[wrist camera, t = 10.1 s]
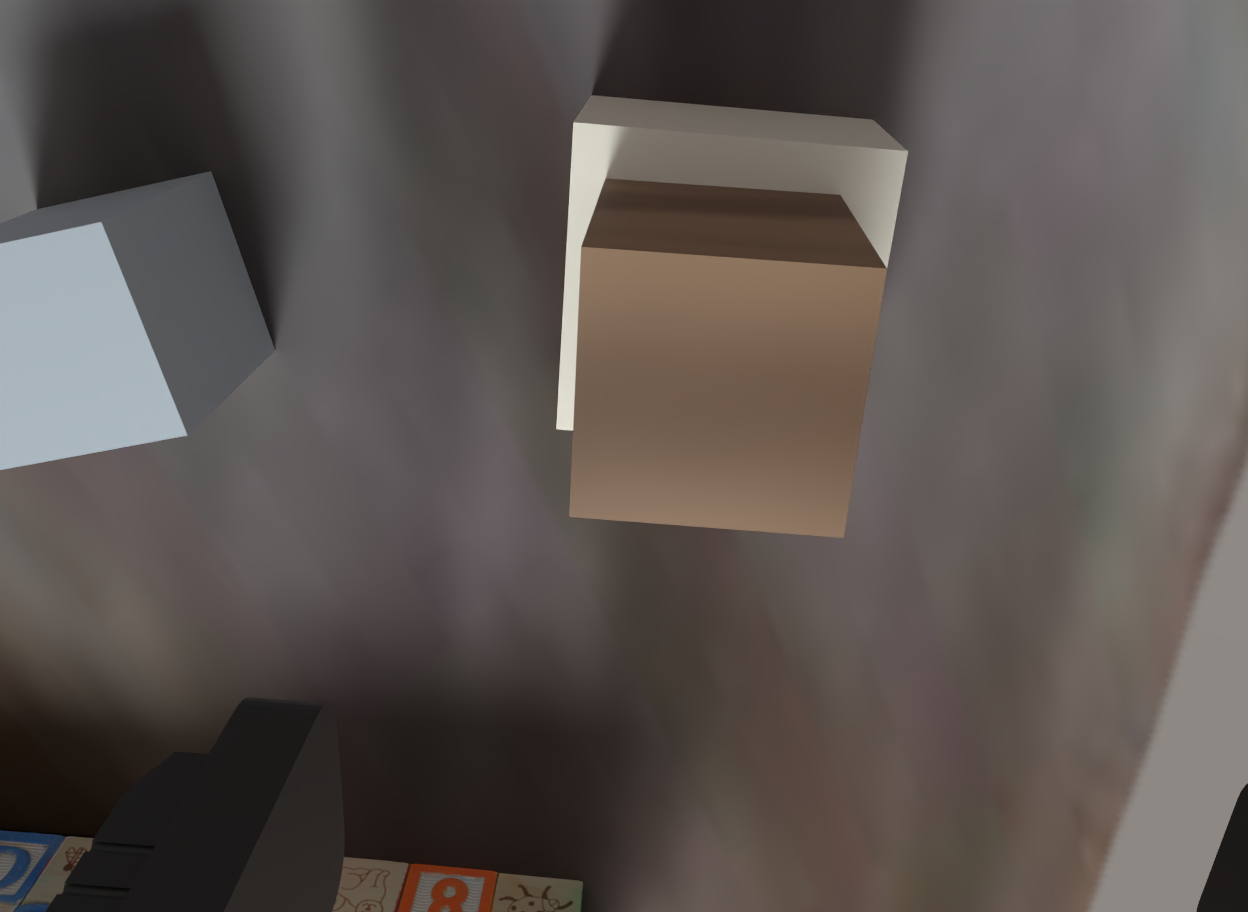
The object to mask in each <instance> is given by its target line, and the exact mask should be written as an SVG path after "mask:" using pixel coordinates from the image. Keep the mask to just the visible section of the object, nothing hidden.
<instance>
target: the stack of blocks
mask: <svg viewBox="0 0 1248 912" xmlns="http://www.w3.org/2000/svg"><path fill="white" fill-rule="evenodd" d="M93 839H94V838H85V837H74V836H69V837H64V836H61V835H53V834H40V833H29V832H13V831H0V912H45V911H46V910H47V908H48V907H49V905H50V904H51V902H52V901H53V899H54V898H55V896H56V895H57V894H62V892H63V890H64V883H65V881H66V880H67V878H68V876H69V875H70V873H71V872H72V870H73V869H74V867H75V866H76V864H77V863H78V861H79V860H80V858H81V857H82V855H83V854H84V852H85V851H90V849H91V846H92V840H93ZM582 892H583V882H582V881H578V880H567V879H557V878H546V877H535V876H525V875H515V874H504V873H498V872H495V871H491V870H479V869H469V868H458V867H447V866H435V865H425V864H408V863H403V862H393V861H385V860H372V859H362V858H350V857H344V860H343V868H342V874H341V880H340V885H339V889H338V894H337V897H336V901H335V904H334V907H333V910H332V912H581V903H582Z"/></svg>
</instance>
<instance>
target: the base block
mask: <svg viewBox="0 0 1248 912" xmlns="http://www.w3.org/2000/svg"><path fill="white" fill-rule="evenodd" d="M907 155H908V151H907V150H906V149H905V148H904V147H903V146H902V145H901V144H899V143H898V142H897V141H896V140H895V139H894V138H893V137H892V136H891V135H889V134H888V133H887V132H886V131H885V130H884V129H883V128H882V127H881V126H879V125H878V124H877V123H876V122H875V121H874V120H872V119H861V118H849V117H838V116H826V115H814V114H803V113H791V112H780V111H768V110H757V109H745V108H734V107H722V106H711V105H699V104H688V103H676V102H665V101H653V100H642V99H630V98H618V97H607V96H595V95H591V97H590V98H589V100H588V101H587V103H586V104H585V106H584V107H583V109H582V110H581V112H580V113H579V115H578V116H577V118H576V119H575V121H574V123H573V141H572V159H571V177H570V195H569V213H568V230H567V248H566V266H565V284H564V302H563V320H562V338H561V356H560V373H559V391H558V409H557V427H556V429H562V430H573V422H574V399H575V376H576V353H577V331H578V308H579V285H580V262H581V246H582V243H583V240H584V237H585V235H586V232H587V229H588V226H589V223H590V220H591V218H592V215H593V212H594V209H595V206H596V204H597V201H598V198H599V195H600V192H601V189H602V187H603V184H604V181H605V178H606V179H621V180H635V181H649V182H664V183H678V184H692V185H707V186H721V187H735V188H750V189H764V190H778V191H793V192H807V193H821V194H836V195H841V197H842V198H843V200H844V201H845V203H846V204H847V206H848V208H849V209H850V211H851V212H852V214H853V215H854V217H855V219H856V220H857V222H858V223H859V225H860V227H861V228H862V230H863V231H864V233H865V234H866V236H867V238H868V239H869V241H870V242H871V244H872V246H873V247H874V249H875V250H876V252H877V253H878V255H879V257H880V258H881V260H882V261H883V263H884V264H885V266H886V268H887V267H888V261H889V256H890V250H891V244H892V239H893V233H894V228H895V222H896V217H897V211H898V205H899V200H900V194H901V189H902V183H903V178H904V172H905V167H906V161H907Z"/></svg>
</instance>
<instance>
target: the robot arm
mask: <svg viewBox="0 0 1248 912" xmlns="http://www.w3.org/2000/svg"><path fill="white" fill-rule="evenodd" d="M344 849H345V827H344V813H343V798H342V783H341V769H340V754H339V740H338V725H337V717H336V713H335V710H334V708H333V706H332V705H331V704H328V703H315V702H302V701H289V700H276V699H263V698H246V699H244V700H243V701H242V702H241V703H240V704H239V705H238V707H237V708H236V710H235V711H234V713H233V715H232V716H231V718H230V720H229V721H228V723H227V725H226V727H225V728H224V730H223V732H222V733H221V735H220V737H219V738H218V740H217V742H216V744H215V745H214V747H213V749H212V750H211V752H210V754H197V753H184V752H175V753H174V754H172V755H171V756H170V757H169V758H167V759H166V760H165V761H163V762H162V763H161V764H160V765H158V766H157V767H156V768H154V769H153V770H152V771H151V772H149V773H148V774H147V775H145V776H144V777H143V778H142V779H140V780H139V781H138V782H136V783H135V784H134V785H133V786H131V787H130V788H129V789H127V790H126V791H125V792H124V793H123V795H122V796H121V798H120V799H119V801H118V802H117V804H116V805H115V807H114V808H113V810H112V811H111V813H110V814H109V816H108V817H107V819H106V820H105V822H104V824H103V825H102V827H101V828H100V830H99V831H98V833H97V834H96V836H95V837H94V839H93V840H92V846H91V849H90V851H85V852H84V854H83V855H82V857H81V858H80V860H79V861H78V863H77V864H76V866H75V867H74V869H73V870H72V872H71V873H70V875H69V876H68V878H67V880H66V881H65V883H64V890H63V892H62V894H57V895H56V896H55V898H54V899H53V901H52V902H51V904H50V905H49V907H48V908H47V910H46V911H45V912H332V910H333V907H334V904H335V901H336V897H337V894H338V889H339V885H340V880H341V874H342V868H343V860H344ZM1197 912H1248V784H1247V785H1246V786H1245V787H1244V788H1243V790H1242V791H1241V793H1240V795H1239V797H1238V799H1237V802H1236V805H1235V807H1234V810H1233V813H1232V815H1231V818H1230V821H1229V823H1228V826H1227V829H1226V831H1225V834H1224V837H1223V839H1222V842H1221V845H1220V847H1219V850H1218V853H1217V855H1216V858H1215V861H1214V864H1213V866H1212V869H1211V871H1210V874H1209V877H1208V879H1207V882H1206V885H1205V887H1204V890H1203V893H1202V895H1201V898H1200V901H1199V904H1198V907H1197Z"/></svg>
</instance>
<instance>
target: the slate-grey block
mask: <svg viewBox="0 0 1248 912" xmlns="http://www.w3.org/2000/svg"><path fill="white" fill-rule="evenodd" d="M274 351H275V348H274V346H273V343H272V340H271V337H270V334H269V332H268V329H267V326H266V323H265V320H264V318H263V315H262V312H261V309H260V306H259V304H258V301H257V298H256V295H255V292H254V290H253V287H252V284H251V281H250V278H249V276H248V273H247V270H246V267H245V264H244V262H243V259H242V256H241V253H240V250H239V248H238V245H237V242H236V239H235V236H234V234H233V231H232V228H231V225H230V222H229V220H228V217H227V214H226V211H225V208H224V206H223V203H222V200H221V197H220V194H219V192H218V189H217V186H216V183H215V180H214V178H213V175H212V172H211V171H210V172H205V173H201V174H196V175H191V176H187V177H182V178H178V179H173V180H169V181H164V182H159V183H155V184H150V185H146V186H141V187H136V188H132V189H127V190H123V191H118V192H114V193H109V194H104V195H100V196H95V197H91V198H86V199H81V200H77V201H72V202H68V203H63V204H59V205H54V206H49V207H45V208H40V209H36V210H34V211H31V212H29V213H26V214H24V215H21V216H19V217H16V218H14V219H11V220H9V221H6V222H3V223H1V224H0V470H3V469H8V468H14V467H19V466H24V465H30V464H35V463H41V462H46V461H51V460H57V459H62V458H68V457H73V456H79V455H84V454H89V453H95V452H100V451H106V450H111V449H116V448H122V447H127V446H133V445H138V444H143V443H149V442H154V441H160V440H165V439H170V438H176V437H181V436H187V435H188V434H189V433H190V432H191V431H193V430H194V429H195V428H196V427H197V426H198V425H199V424H200V423H201V422H202V421H203V420H204V419H205V418H206V417H207V416H208V415H209V414H210V413H211V412H212V411H213V410H214V409H215V408H216V407H217V406H218V405H219V404H220V403H221V402H222V401H223V400H224V399H226V398H227V397H228V396H229V395H230V394H231V393H232V392H233V391H234V390H235V389H236V388H237V387H238V386H239V385H240V384H241V383H242V382H243V381H244V380H245V379H246V378H247V377H248V376H249V375H250V374H251V373H252V372H253V371H254V370H255V369H256V368H257V367H258V366H260V365H261V364H262V363H263V362H264V361H265V360H266V359H267V358H268V357H269V356H270V355H271V354H272V353H273V352H274Z"/></svg>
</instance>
